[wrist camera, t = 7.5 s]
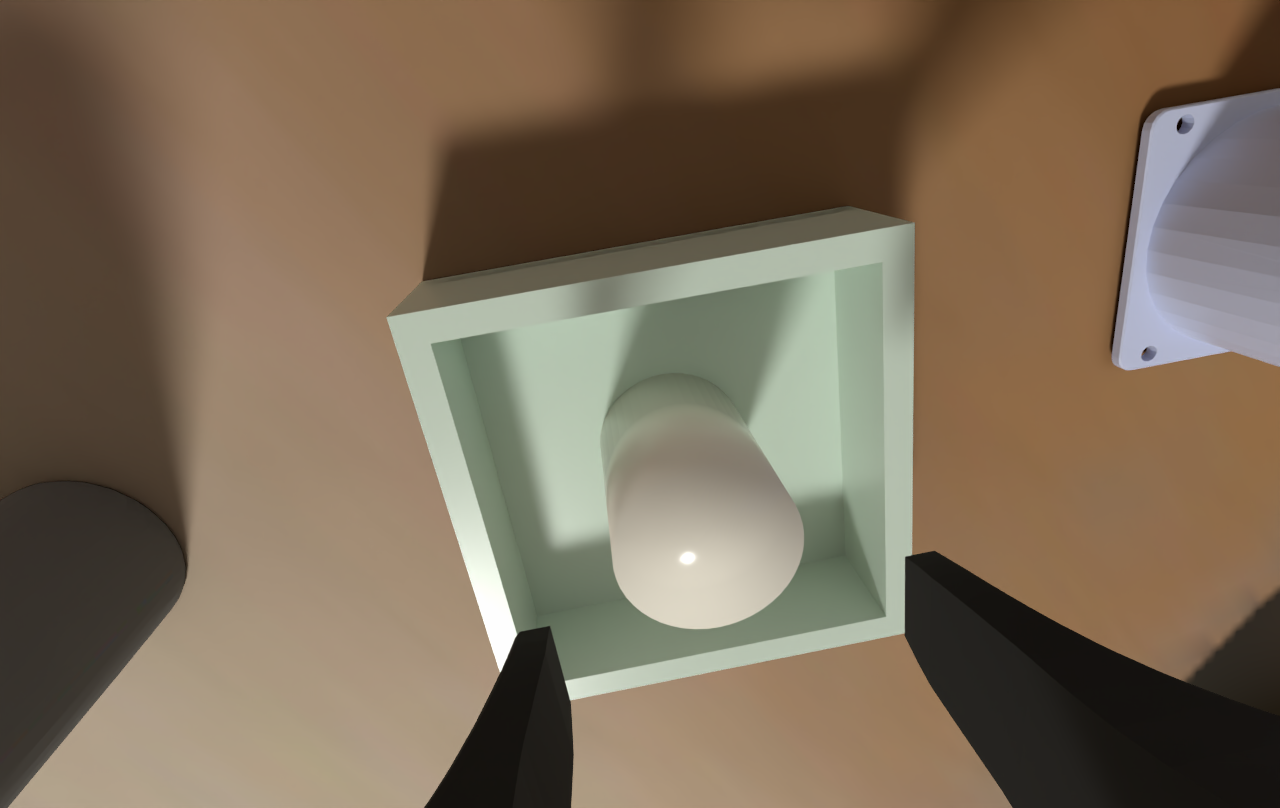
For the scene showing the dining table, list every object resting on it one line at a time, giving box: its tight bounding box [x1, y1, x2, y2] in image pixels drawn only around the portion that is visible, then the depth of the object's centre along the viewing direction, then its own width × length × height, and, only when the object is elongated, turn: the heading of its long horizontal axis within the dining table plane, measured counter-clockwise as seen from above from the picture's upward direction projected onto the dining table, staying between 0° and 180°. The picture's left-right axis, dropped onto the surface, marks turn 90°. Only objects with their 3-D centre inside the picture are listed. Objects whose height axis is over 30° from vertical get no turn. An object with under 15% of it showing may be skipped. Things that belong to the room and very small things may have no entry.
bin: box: [387, 206, 915, 700], centre depth 20 cm, size 13×13×4 cm
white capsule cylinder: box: [600, 373, 804, 629], centre depth 18 cm, size 4×4×6 cm
